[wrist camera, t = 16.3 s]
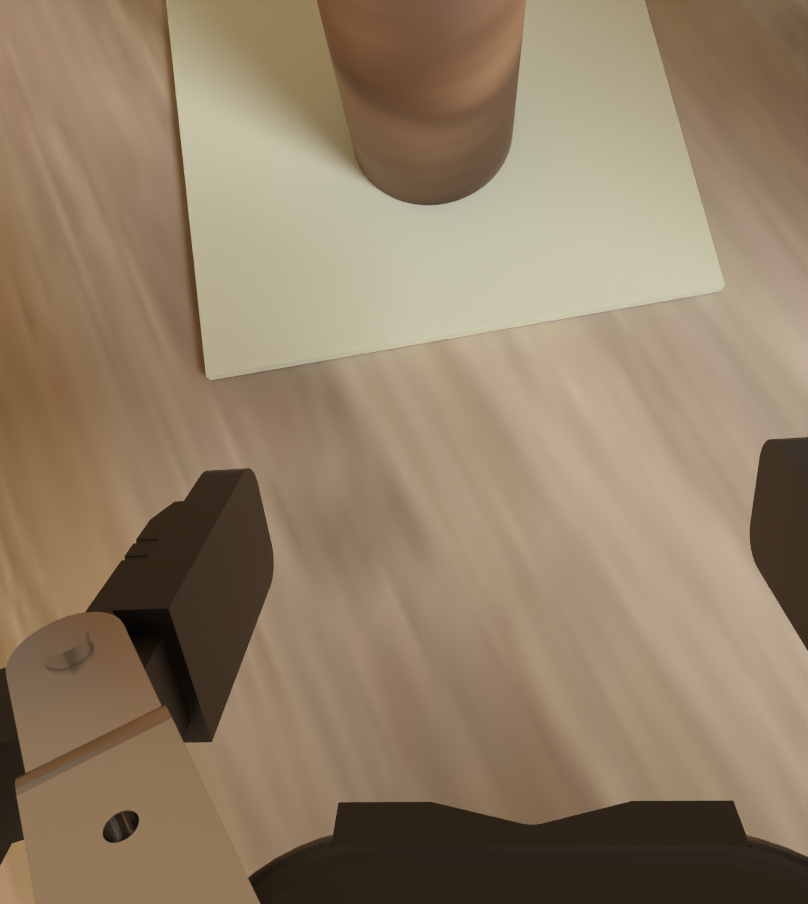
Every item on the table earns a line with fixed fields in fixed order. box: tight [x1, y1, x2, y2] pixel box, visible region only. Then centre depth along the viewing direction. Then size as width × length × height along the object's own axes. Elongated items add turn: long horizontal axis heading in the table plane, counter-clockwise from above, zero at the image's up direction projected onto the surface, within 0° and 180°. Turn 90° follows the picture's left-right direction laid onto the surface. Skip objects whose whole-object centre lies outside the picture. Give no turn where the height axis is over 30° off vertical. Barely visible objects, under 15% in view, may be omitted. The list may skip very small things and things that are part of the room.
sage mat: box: [166, 0, 725, 380], centre depth 23 cm, size 16×14×1 cm
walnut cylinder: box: [317, 0, 526, 205], centre depth 19 cm, size 5×5×9 cm
